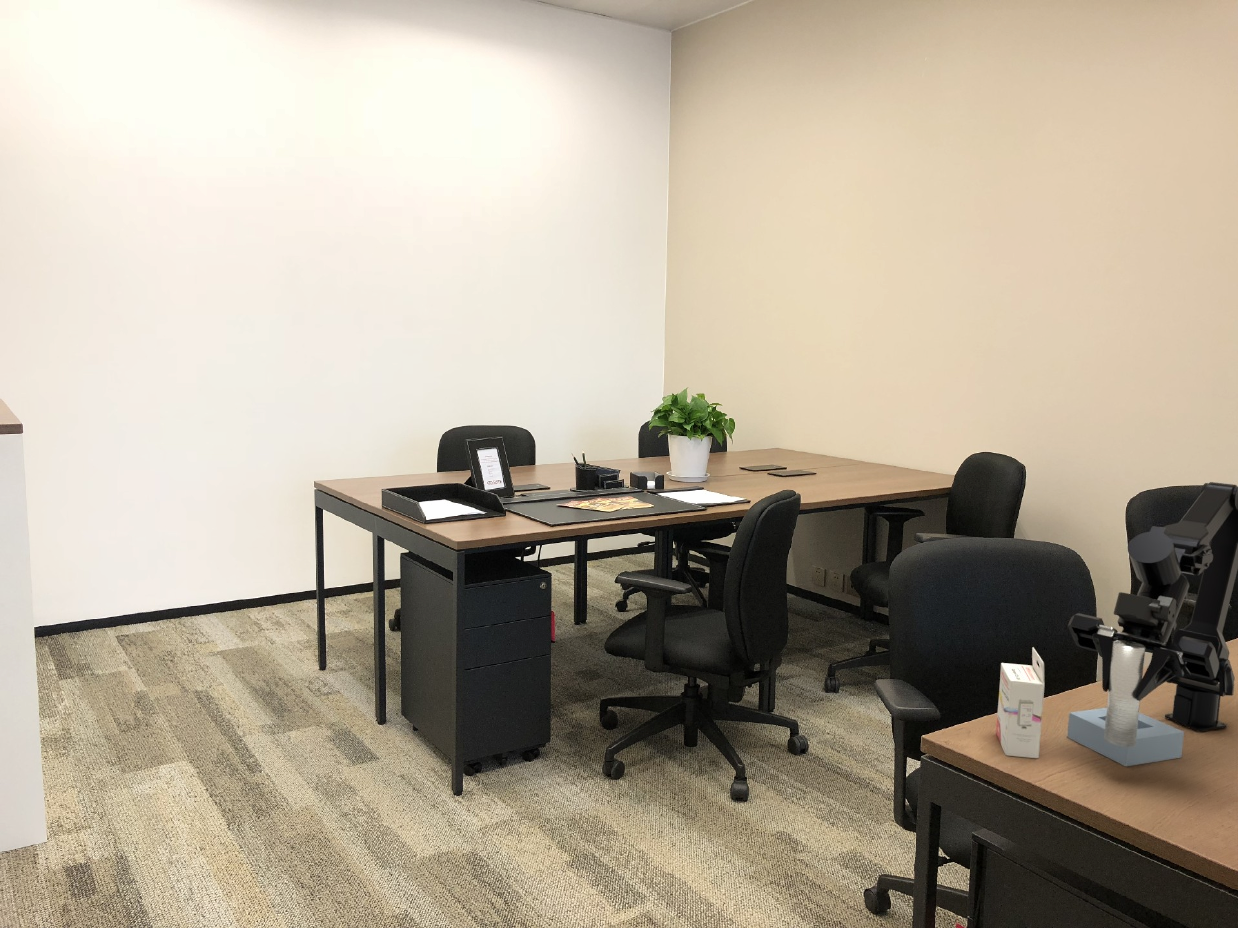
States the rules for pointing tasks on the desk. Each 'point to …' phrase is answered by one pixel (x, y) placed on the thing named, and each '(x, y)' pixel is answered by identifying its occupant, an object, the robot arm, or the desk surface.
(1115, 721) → the silver tall cylinder
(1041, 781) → the desk surface
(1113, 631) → the robot arm
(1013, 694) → the ink cartridge box
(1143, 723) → the bracket block
